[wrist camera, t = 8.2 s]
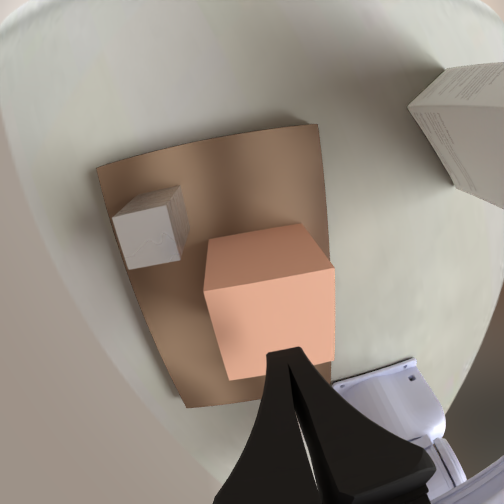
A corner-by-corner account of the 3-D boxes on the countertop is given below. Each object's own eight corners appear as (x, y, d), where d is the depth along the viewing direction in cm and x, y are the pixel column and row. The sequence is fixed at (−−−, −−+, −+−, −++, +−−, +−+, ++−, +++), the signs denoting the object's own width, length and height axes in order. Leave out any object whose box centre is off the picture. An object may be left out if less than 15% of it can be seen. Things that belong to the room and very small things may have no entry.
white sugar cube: (180, 185, 16) (165, 205, 12) (190, 227, 17) (180, 260, 13) (137, 194, 16) (112, 217, 12) (148, 235, 17) (128, 269, 13)
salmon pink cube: (301, 223, 18) (334, 267, 13) (307, 300, 20) (334, 360, 15) (208, 239, 18) (203, 291, 12) (226, 315, 20) (229, 380, 15)
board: (310, 124, 17) (317, 124, 16) (326, 372, 26) (330, 384, 24) (105, 164, 17) (96, 168, 15) (187, 396, 25) (186, 408, 24)
